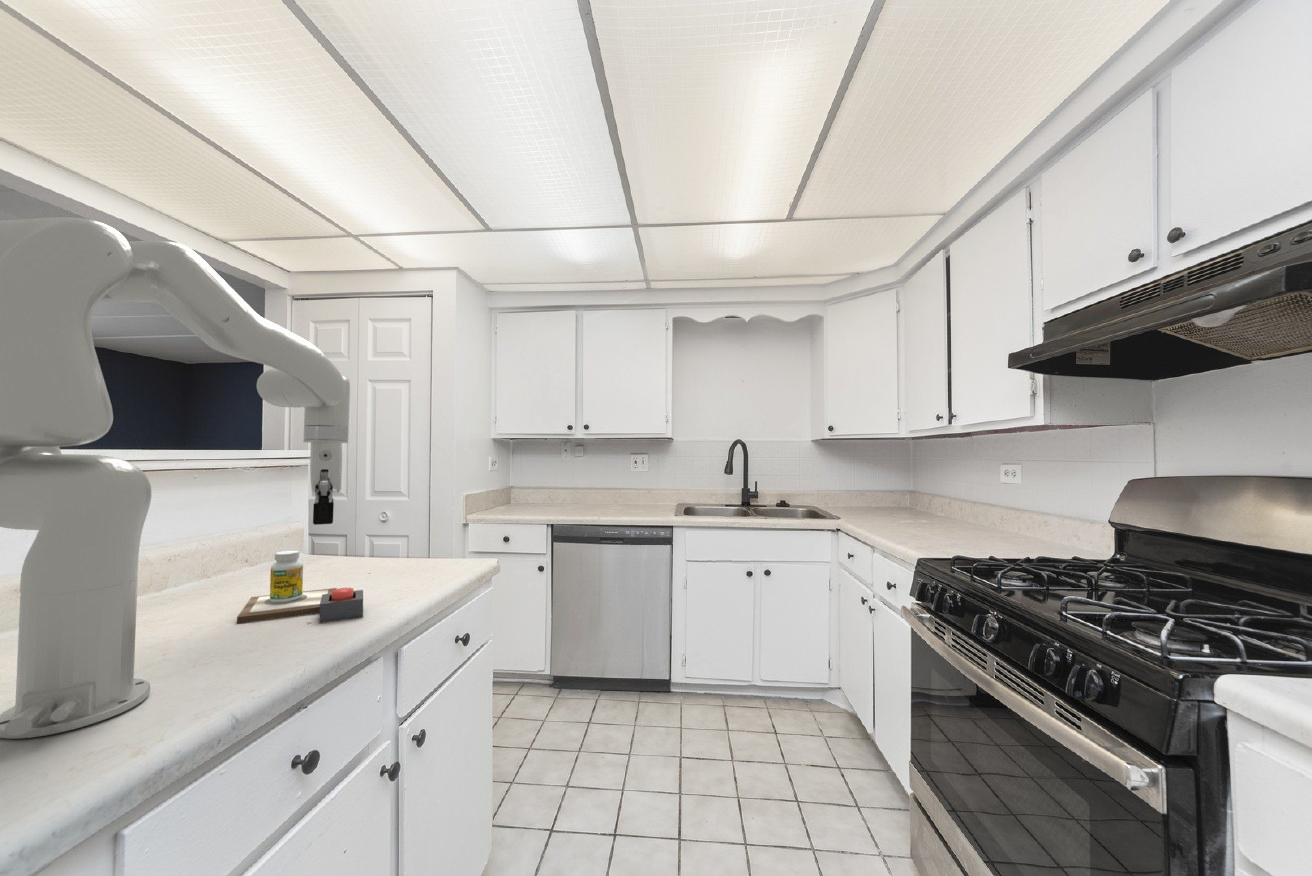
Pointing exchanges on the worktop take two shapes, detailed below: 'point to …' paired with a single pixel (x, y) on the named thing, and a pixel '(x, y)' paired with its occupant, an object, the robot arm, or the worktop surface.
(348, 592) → the button
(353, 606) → the button housing
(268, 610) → the brown bordered square board
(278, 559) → the supplement bottle
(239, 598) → the worktop surface
